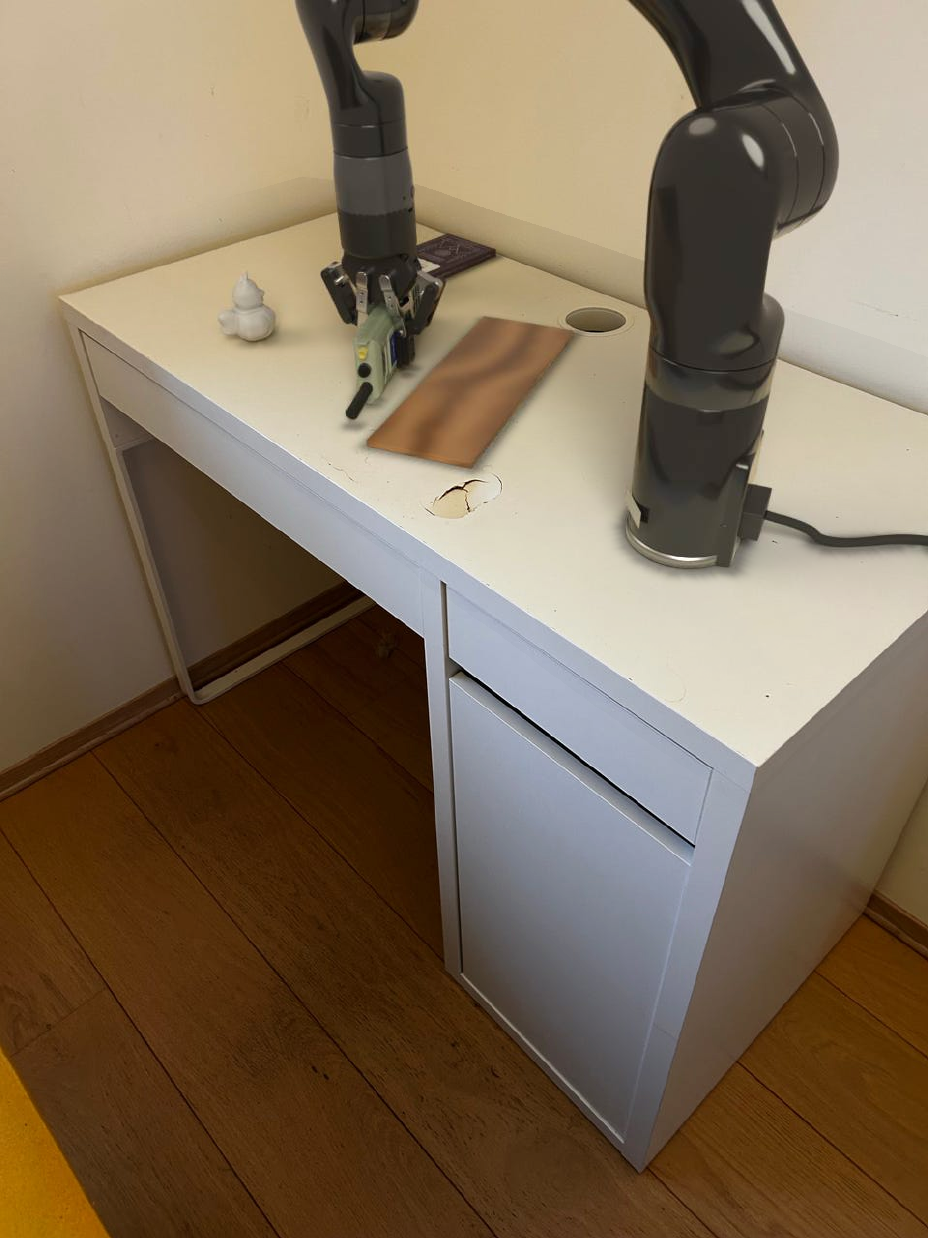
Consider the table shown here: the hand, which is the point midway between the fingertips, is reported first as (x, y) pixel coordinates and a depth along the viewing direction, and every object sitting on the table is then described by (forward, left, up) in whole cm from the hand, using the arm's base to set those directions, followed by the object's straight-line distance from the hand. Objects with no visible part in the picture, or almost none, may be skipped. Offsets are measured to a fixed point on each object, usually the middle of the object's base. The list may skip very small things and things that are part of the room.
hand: (390, 363), depth 103 cm
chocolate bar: (+9, -27, -1) cm, 28 cm away
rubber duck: (+19, -1, -1) cm, 19 cm away
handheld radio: (+1, 0, -1) cm, 1 cm away
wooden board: (-10, 0, -1) cm, 10 cm away
